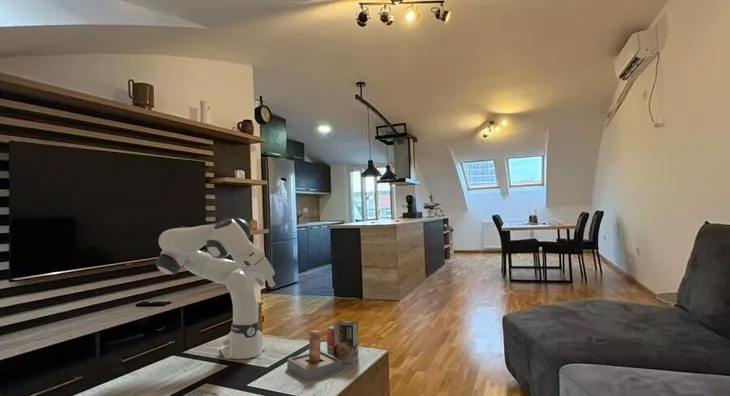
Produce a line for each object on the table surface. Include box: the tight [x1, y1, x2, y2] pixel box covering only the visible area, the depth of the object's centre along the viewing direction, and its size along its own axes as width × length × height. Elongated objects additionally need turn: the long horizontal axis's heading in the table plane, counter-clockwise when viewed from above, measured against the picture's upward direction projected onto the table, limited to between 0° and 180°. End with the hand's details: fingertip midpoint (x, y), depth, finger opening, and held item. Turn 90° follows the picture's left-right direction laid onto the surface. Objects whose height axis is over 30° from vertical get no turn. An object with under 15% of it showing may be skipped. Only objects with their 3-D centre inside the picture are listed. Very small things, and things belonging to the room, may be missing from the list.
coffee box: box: [333, 320, 359, 365], centre depth 175 cm, size 9×6×16 cm
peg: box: [308, 329, 321, 364], centre depth 165 cm, size 4×4×14 cm
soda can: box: [326, 324, 334, 356], centre depth 183 cm, size 7×7×12 cm
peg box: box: [286, 349, 343, 382], centre depth 164 cm, size 16×16×4 cm
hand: (267, 285), depth 156 cm, fingers open, 8 cm apart
